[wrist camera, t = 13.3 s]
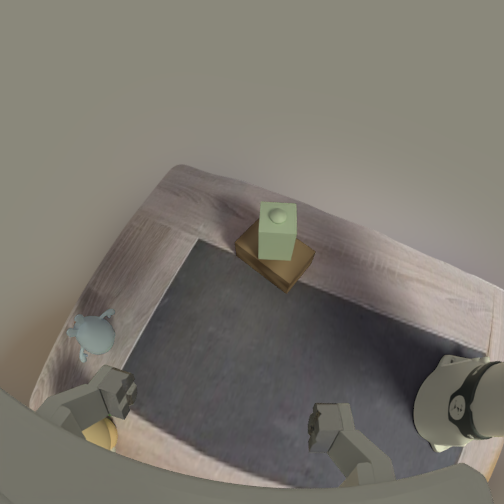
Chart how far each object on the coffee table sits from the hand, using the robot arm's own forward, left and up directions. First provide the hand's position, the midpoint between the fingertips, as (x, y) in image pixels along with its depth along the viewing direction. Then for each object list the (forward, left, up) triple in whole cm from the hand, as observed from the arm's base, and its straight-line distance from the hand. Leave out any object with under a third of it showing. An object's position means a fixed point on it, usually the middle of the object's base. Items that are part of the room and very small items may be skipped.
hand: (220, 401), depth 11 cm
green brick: (-2, -23, -27) cm, 35 cm away
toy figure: (+24, -3, -32) cm, 40 cm away
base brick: (-2, -22, -32) cm, 39 cm away
